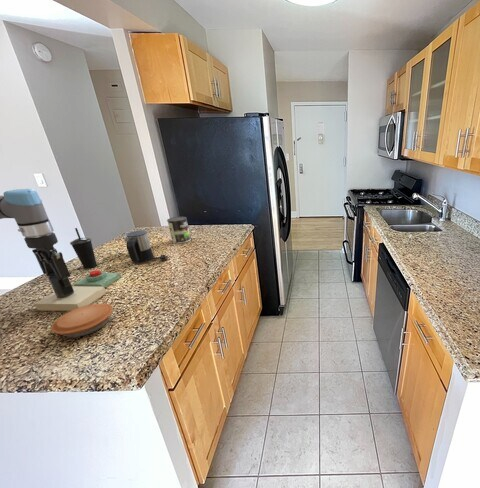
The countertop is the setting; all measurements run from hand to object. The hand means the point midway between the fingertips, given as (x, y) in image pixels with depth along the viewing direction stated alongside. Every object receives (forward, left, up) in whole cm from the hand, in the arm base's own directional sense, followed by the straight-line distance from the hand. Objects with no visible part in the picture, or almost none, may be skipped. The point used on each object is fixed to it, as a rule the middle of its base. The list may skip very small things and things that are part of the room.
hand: (64, 291), depth 99 cm
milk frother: (+8, +37, -4) cm, 38 cm away
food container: (-5, +45, -4) cm, 46 cm away
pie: (+20, -14, -4) cm, 25 cm away
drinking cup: (-17, +29, -4) cm, 34 cm away
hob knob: (0, 0, -1) cm, 1 cm away
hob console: (+2, 0, -4) cm, 5 cm away
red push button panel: (0, +14, -4) cm, 15 cm away
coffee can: (+9, +65, -4) cm, 66 cm away
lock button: (0, +14, -1) cm, 14 cm away
